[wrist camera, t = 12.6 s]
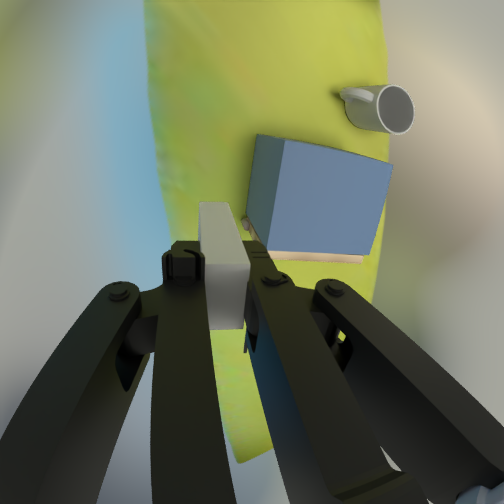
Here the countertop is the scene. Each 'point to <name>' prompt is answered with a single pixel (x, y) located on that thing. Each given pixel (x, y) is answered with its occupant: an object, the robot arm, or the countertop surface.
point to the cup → (379, 108)
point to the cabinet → (315, 197)
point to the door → (303, 255)
